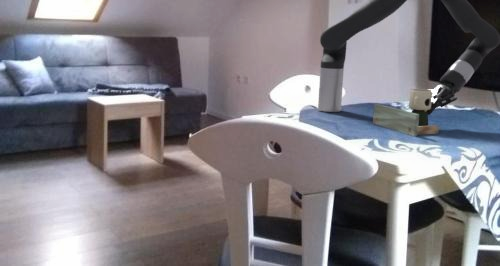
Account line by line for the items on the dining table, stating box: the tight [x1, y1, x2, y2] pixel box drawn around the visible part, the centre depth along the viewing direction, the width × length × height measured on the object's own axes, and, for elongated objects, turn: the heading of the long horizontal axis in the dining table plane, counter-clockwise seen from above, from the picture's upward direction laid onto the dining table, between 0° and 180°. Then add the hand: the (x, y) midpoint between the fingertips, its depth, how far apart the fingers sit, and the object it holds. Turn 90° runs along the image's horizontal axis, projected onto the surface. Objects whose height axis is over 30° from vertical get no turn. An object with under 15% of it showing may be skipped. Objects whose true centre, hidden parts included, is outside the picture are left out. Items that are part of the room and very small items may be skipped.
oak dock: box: [372, 103, 440, 137], centre depth 163 cm, size 11×22×7 cm, turn 21°
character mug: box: [408, 88, 433, 126], centre depth 164 cm, size 11×7×13 cm, turn 145°
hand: (425, 113), depth 166 cm, fingers closed
